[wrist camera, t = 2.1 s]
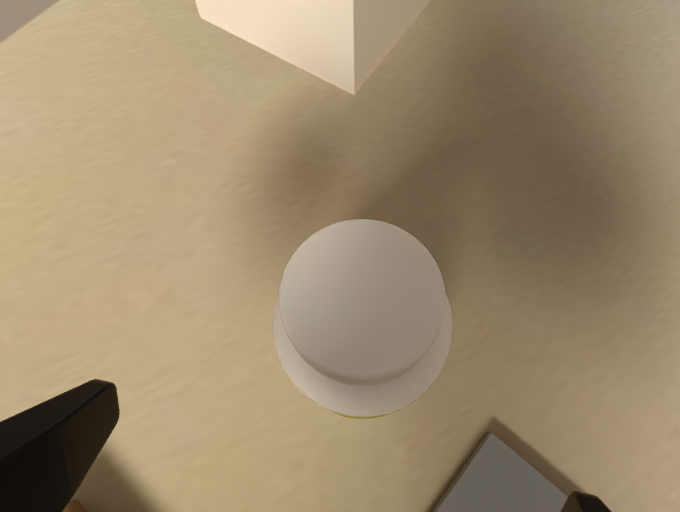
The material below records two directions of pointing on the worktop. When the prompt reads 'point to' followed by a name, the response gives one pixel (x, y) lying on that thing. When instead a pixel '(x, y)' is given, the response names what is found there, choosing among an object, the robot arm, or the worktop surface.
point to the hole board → (73, 507)
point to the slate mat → (500, 484)
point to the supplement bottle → (362, 319)
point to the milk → (319, 32)
